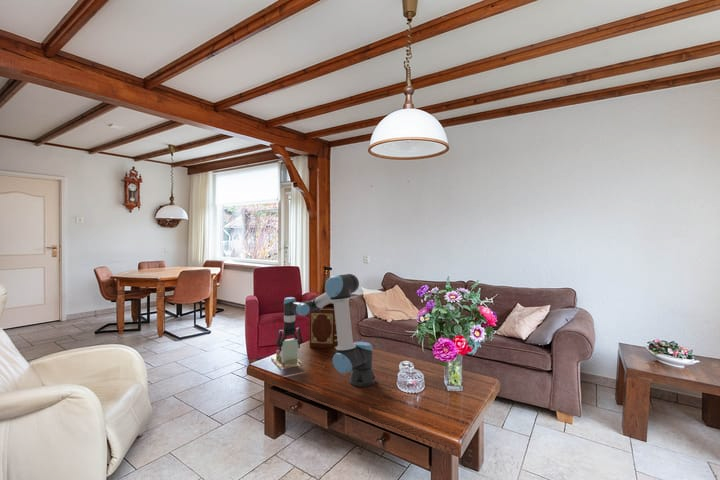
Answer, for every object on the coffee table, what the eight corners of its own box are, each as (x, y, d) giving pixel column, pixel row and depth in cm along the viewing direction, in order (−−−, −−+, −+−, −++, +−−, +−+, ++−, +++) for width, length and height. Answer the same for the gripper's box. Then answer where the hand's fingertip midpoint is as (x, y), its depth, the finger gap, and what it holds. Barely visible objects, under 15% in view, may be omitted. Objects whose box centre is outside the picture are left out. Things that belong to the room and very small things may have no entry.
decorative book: (339, 345, 268) (339, 307, 268) (338, 348, 260) (338, 309, 260) (312, 344, 271) (312, 306, 270) (309, 347, 263) (309, 309, 262)
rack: (271, 361, 234) (271, 351, 233) (291, 357, 241) (291, 347, 241) (280, 371, 216) (280, 360, 216) (302, 366, 224) (302, 356, 224)
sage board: (297, 360, 224) (297, 339, 224) (282, 362, 219) (282, 341, 219) (295, 358, 227) (295, 337, 227) (281, 361, 222) (281, 340, 222)
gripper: (303, 317, 232) (303, 350, 232) (271, 321, 220) (270, 355, 221) (307, 320, 225) (307, 353, 226) (274, 324, 214) (274, 359, 214)
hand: (289, 354), depth 223 cm, fingers closed on sage board, 10 cm apart
